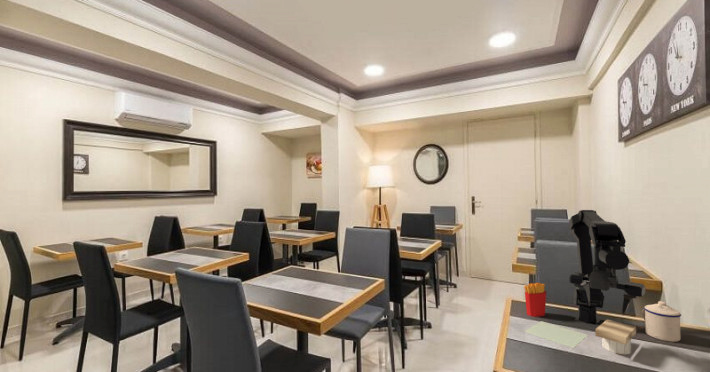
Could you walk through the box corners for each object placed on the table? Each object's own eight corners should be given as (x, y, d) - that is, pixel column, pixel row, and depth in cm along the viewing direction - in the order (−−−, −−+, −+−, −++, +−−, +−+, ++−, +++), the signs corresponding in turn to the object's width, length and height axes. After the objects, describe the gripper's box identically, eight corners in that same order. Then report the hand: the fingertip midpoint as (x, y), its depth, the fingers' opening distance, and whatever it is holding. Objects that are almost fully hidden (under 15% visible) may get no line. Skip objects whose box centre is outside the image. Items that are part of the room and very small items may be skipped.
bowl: (606, 343, 105) (605, 327, 105) (633, 351, 100) (632, 335, 100) (599, 349, 101) (599, 333, 101) (627, 358, 95) (627, 341, 95)
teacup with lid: (689, 342, 105) (689, 306, 105) (661, 342, 105) (661, 307, 105) (655, 326, 117) (655, 294, 117) (630, 326, 117) (630, 294, 117)
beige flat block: (607, 325, 107) (607, 319, 107) (636, 333, 101) (636, 326, 101) (595, 335, 99) (595, 329, 99) (626, 344, 94) (625, 337, 94)
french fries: (540, 312, 131) (539, 280, 131) (549, 316, 127) (548, 283, 127) (521, 315, 128) (521, 282, 129) (530, 319, 124) (529, 285, 124)
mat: (541, 322, 121) (541, 321, 121) (588, 336, 109) (588, 335, 109) (524, 333, 112) (524, 331, 112) (573, 349, 101) (573, 348, 101)
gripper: (563, 260, 106) (563, 307, 106) (637, 272, 91) (637, 326, 91) (574, 255, 113) (575, 299, 113) (645, 265, 98) (645, 316, 98)
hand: (605, 309), depth 104 cm, fingers open, 9 cm apart
